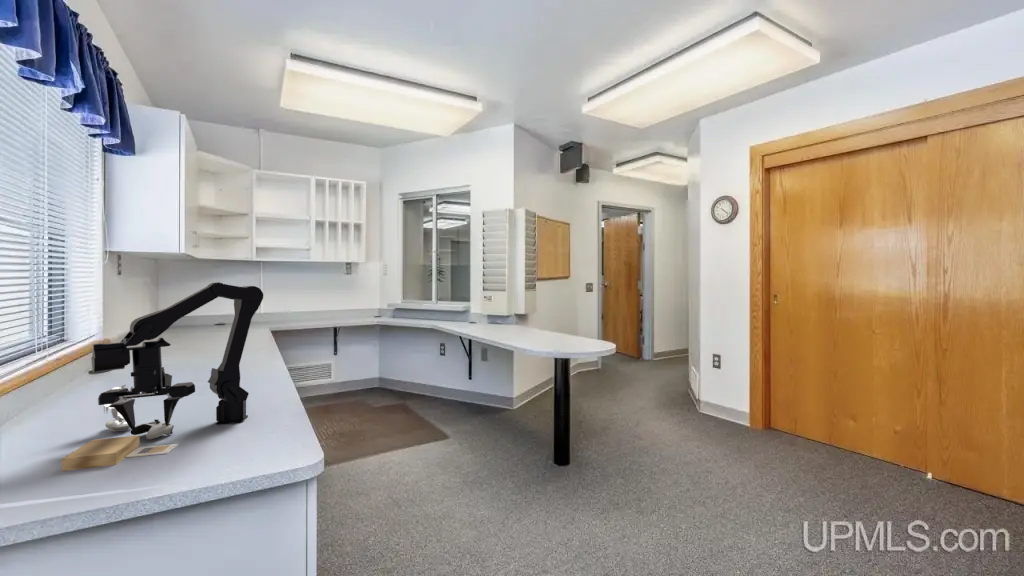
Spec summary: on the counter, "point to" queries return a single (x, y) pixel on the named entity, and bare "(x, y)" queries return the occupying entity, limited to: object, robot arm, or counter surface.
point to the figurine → (116, 417)
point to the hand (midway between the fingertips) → (150, 426)
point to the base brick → (100, 453)
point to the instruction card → (152, 450)
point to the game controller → (153, 429)
